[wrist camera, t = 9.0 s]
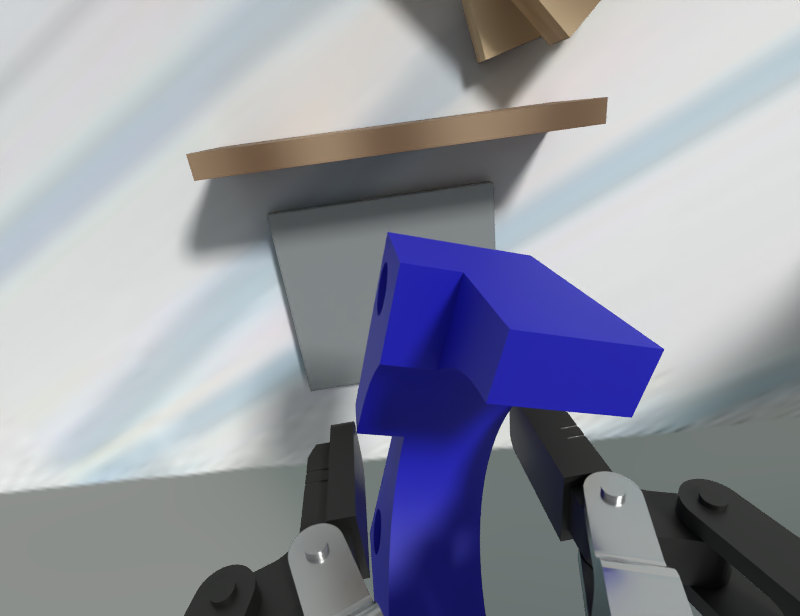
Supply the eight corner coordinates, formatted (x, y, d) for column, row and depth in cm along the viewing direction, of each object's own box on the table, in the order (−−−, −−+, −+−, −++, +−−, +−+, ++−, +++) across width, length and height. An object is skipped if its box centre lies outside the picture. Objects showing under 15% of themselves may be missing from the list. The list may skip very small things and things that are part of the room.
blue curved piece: (387, 232, 12) (423, 317, 7) (530, 256, 13) (664, 349, 8) (331, 531, 17) (326, 729, 11) (442, 535, 18) (486, 720, 12)
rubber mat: (489, 181, 23) (493, 182, 23) (495, 354, 28) (498, 359, 27) (268, 213, 23) (266, 215, 22) (311, 385, 27) (310, 391, 27)
